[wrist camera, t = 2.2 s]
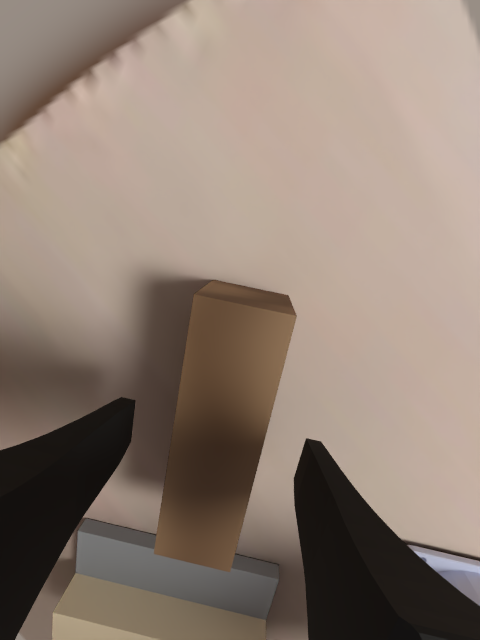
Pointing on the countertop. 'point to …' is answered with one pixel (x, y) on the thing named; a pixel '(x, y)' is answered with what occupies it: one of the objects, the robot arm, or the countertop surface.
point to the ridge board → (159, 593)
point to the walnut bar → (221, 419)
